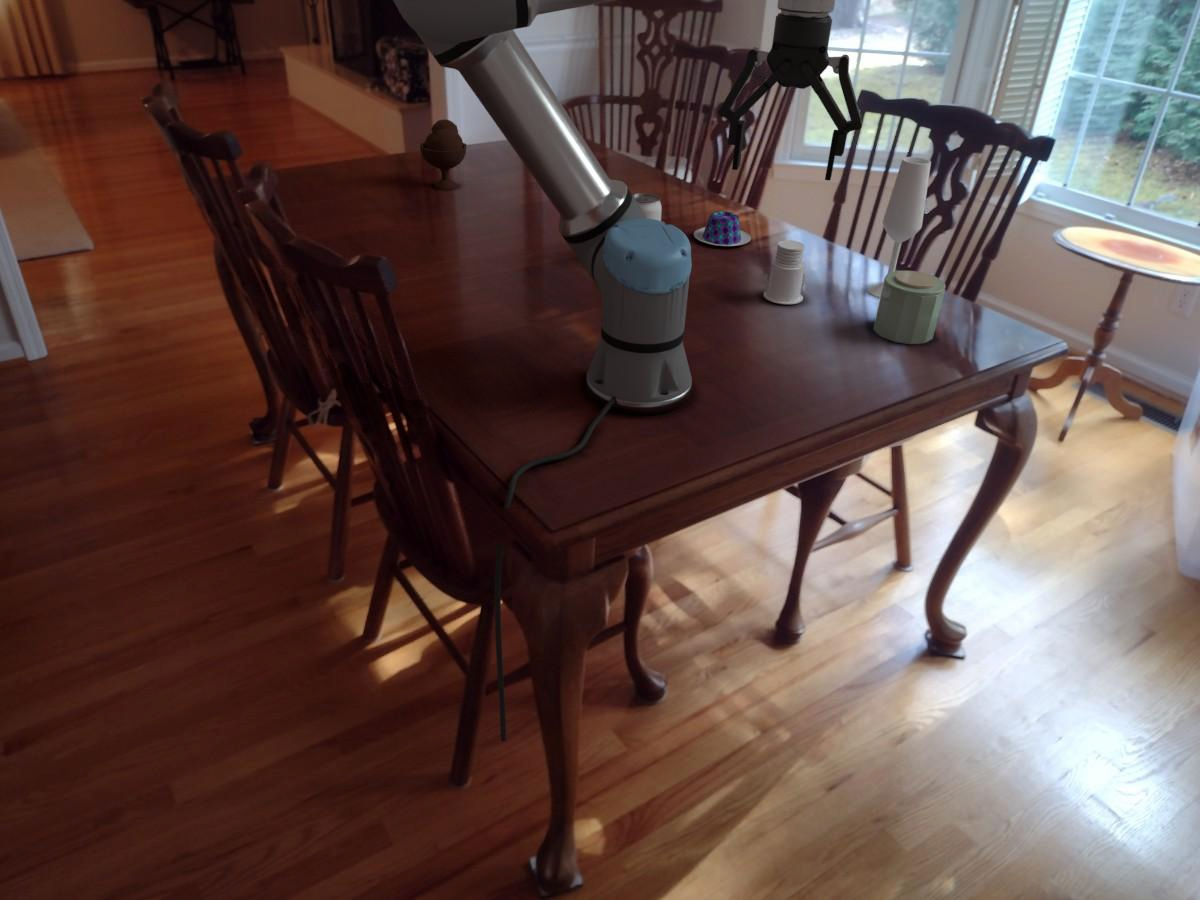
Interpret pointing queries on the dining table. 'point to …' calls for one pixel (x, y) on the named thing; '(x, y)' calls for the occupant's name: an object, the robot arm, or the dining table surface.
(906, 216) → the champagne flute
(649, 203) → the can
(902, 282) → the green canister
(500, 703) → the robot arm
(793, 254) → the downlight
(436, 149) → the ice cream bowl
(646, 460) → the dining table surface
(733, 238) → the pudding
